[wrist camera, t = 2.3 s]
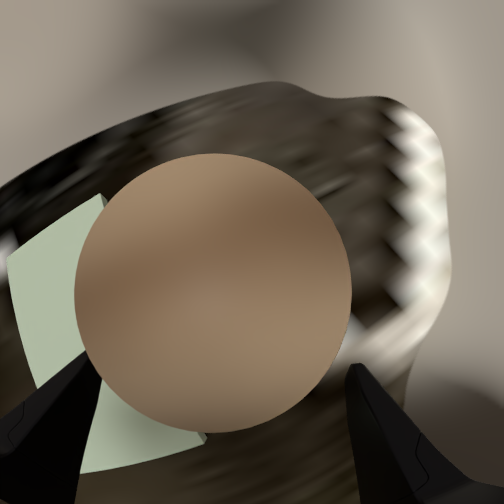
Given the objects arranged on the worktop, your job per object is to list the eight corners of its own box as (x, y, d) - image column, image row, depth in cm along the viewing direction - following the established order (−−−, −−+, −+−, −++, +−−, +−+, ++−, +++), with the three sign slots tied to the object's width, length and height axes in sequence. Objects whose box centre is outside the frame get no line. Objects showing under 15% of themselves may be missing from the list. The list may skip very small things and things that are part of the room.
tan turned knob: (311, 336, 18) (399, 344, 6) (214, 384, 18) (141, 463, 5) (262, 244, 20) (263, 119, 8) (169, 289, 20) (52, 227, 7)
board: (207, 437, 17) (204, 443, 16) (86, 468, 16) (79, 473, 14) (106, 199, 22) (100, 193, 21) (14, 261, 20) (6, 258, 19)
